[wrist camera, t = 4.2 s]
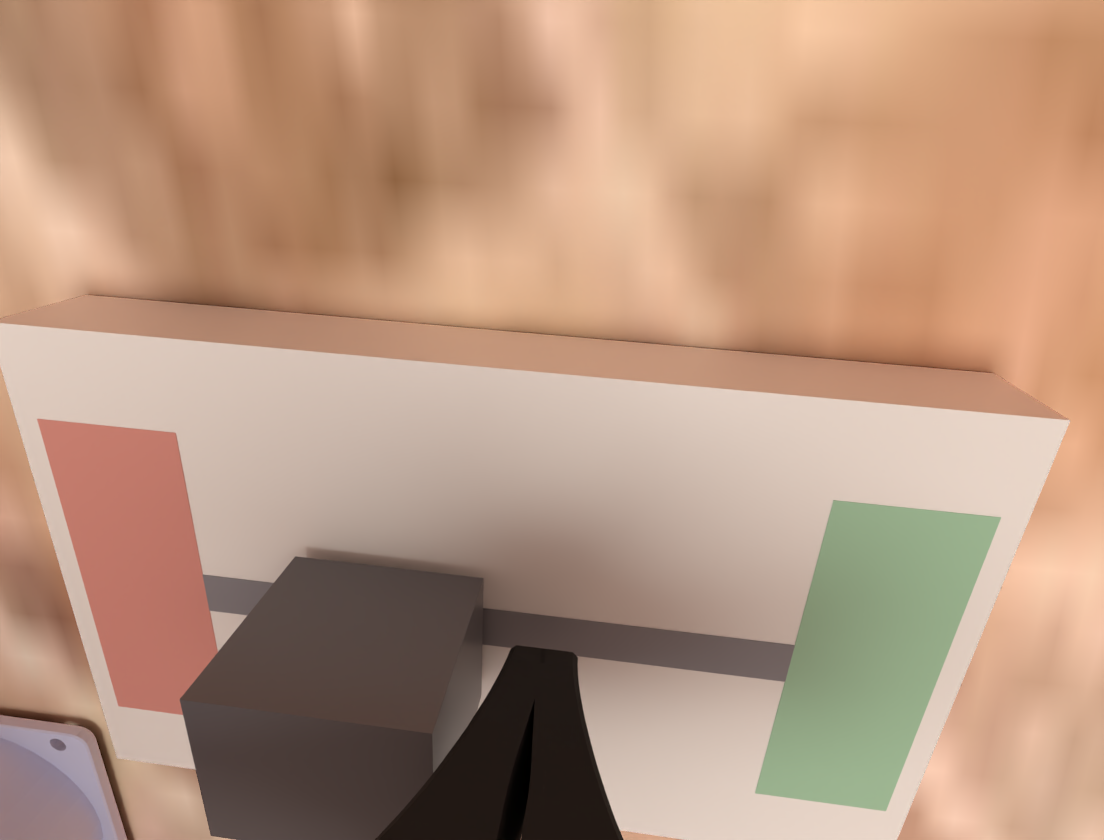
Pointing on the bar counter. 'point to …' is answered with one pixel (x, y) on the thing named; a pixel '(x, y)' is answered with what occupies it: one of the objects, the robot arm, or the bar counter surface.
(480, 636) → the knob
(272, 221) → the bar counter surface
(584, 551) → the switch plate
